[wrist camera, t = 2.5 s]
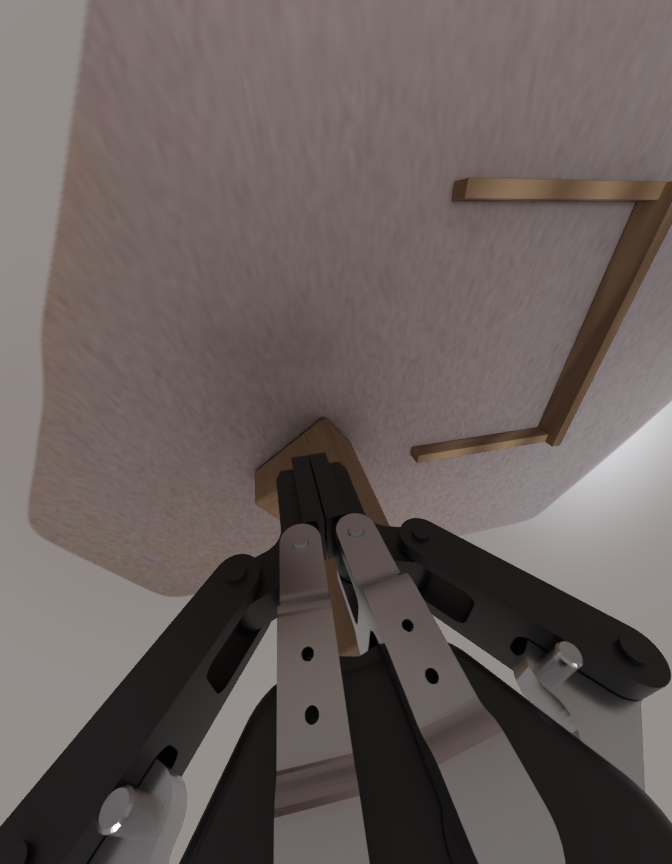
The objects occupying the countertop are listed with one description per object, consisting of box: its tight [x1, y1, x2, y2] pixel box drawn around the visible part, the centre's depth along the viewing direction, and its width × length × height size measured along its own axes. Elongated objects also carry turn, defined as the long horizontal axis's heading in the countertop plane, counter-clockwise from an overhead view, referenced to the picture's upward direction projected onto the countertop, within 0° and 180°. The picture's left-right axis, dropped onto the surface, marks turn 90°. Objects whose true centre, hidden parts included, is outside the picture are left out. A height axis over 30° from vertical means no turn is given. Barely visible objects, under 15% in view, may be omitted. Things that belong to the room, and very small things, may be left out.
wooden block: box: [255, 418, 389, 656], centre depth 22 cm, size 9×4×18 cm, turn 127°
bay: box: [411, 178, 672, 463], centre depth 26 cm, size 17×23×2 cm
